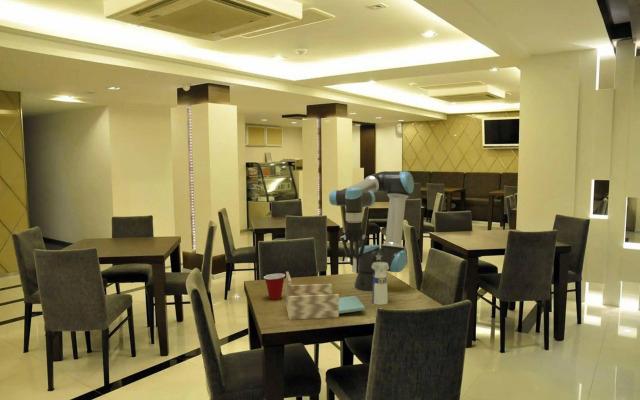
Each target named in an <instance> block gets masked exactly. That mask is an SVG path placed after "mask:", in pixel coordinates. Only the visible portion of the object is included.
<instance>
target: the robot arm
mask: <svg viewBox="0 0 640 400" xmlns="http://www.w3.org/2000/svg"><path fill="white" fill-rule="evenodd" d="M414 188H415V182H414V178H413V175H412V174H411V173H410V172H409V171H402V170H400V171H399V170H398V171H397V170H394V171H387V170H386V171H385V170H384V171H379V172H377V173H372V174H370V175H368V176H366V177H365V178H364V180H361V181H359V182H356V183H355V184H352V185H350V186H347V187H345V188H343V189H340V190H339V189H336V190H331V191H330V193H329V194H328V199H329V203H330V205H332V206H336V207H341V206H342V207H345V233H344V235H342V236H340V237H339V239H340V240H341V242H342V246H343V249H344V253H345V257H346V258H349V265H350V266H351V272H352V273H354V274H355V273H357V274H356V275H357V276H356V278H355V281H354V288H355V290H356V289H357V290H360V291H372V290H373V282H374V281H373V278H374V277H373V274H374V269H372V264H373V263H374V262H386V263H388V266H389V269H388V270H387V271H386V272H390V273H400V272H402V271H403V270H404V269H405V268H406V267H405V266H406V265H407V261H408V253H407V251H406V250H404V248H405V247H404V246H403V245H402V239H403V229H404V218H405V210H406V209H405V208H406V200H407V199H408V198H410V194H412V193H413V192H414ZM375 193H386V195H387V197H388V198H389V202H388V209H387V222H386V229H385V230H386V233H385V240H384V241H385V242H384V243H382V244H381V248H380V245H379V244H368V245H366V242H367V240H368V239H369V237H368V236H367V235H365V234H364V232H363V222H362V221H363V208H365V207H366V208H368V207H370V206H372V205H374V203H376V195H375ZM361 239H362V240H361ZM346 240H348V243H349V249H348V246H347V241H346ZM360 240H361V244H360V245H359V243H360ZM359 246H360V247H359ZM378 253H379V255H380V256H382V257H381V258H380V259H381V260H379V259H378V260H377V257H376V255H378Z"/></svg>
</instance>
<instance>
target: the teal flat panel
mask: <svg viewBox="0 0 640 400" xmlns="http://www.w3.org/2000/svg"><path fill="white" fill-rule="evenodd" d="M365 310H366V307H365V304H363V302H362V301H361V300H360V299H359V297H358V296H357V295H351V296H344V297H339V314H344V313H352V312H358V311H361V312H362V311H365Z"/></svg>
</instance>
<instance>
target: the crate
mask: <svg viewBox="0 0 640 400" xmlns="http://www.w3.org/2000/svg"><path fill="white" fill-rule="evenodd" d="M285 284H286V285H285V300H286V301H285V302H286V303H285V306H286V311H287V312H286V313H287V316H288V320H290V321H291V320H306V319H307V320H308V319H309V320H310V319H327V318H339V317H340V313H339V298H340V297H339V295H340V294H338V293H335V294H333V284H332V283H320V284H319V283H315V284H297V285H296V284H292V279H291V275H290V272H289V271H285Z"/></svg>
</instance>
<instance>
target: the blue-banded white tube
mask: <svg viewBox="0 0 640 400" xmlns="http://www.w3.org/2000/svg"><path fill="white" fill-rule="evenodd" d="M376 257H377V260H378V259H379V260H381V259H380V258H381V257H382V256H380V255H379V253H378V255H376ZM372 269H374V274H373V277H374V278H373V281H374V282H373V290H372V295H371V297H372V298H371V303H372V304H374V305H381V306H382V305H383V306H384V305H387V304H388V302H389V301H388V299H389V298H388V282H387V277H388V275H387V272H388V271H387V270H388V269H389V266H388V263H386V262H374V263H373V264H372Z"/></svg>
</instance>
